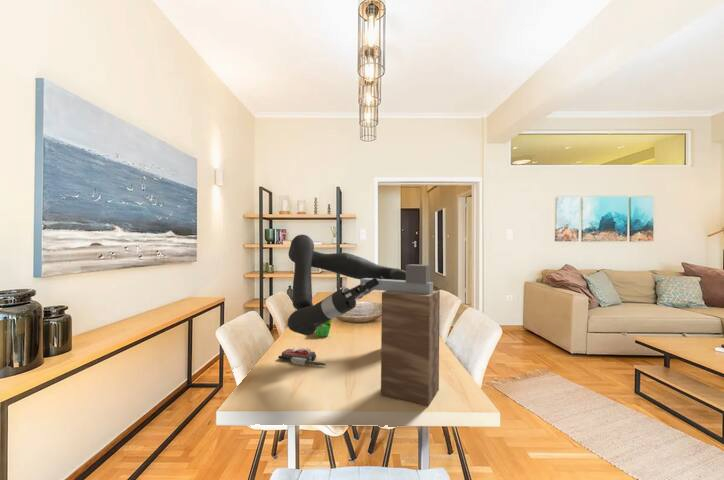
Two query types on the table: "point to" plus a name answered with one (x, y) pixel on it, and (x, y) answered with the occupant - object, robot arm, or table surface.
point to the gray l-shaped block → (407, 281)
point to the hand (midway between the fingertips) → (380, 280)
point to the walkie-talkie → (300, 356)
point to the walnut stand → (410, 346)
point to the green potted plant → (323, 329)
